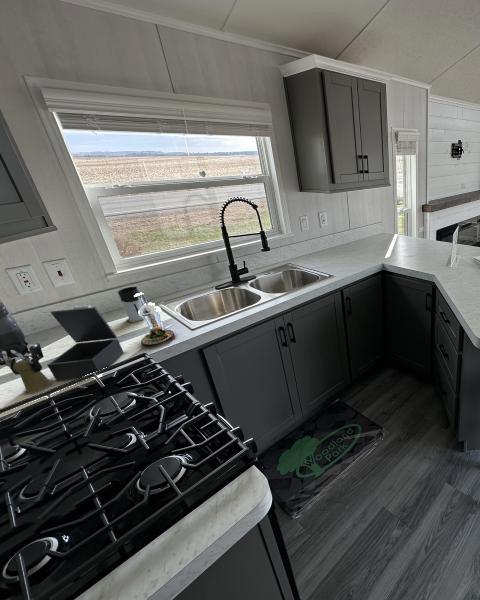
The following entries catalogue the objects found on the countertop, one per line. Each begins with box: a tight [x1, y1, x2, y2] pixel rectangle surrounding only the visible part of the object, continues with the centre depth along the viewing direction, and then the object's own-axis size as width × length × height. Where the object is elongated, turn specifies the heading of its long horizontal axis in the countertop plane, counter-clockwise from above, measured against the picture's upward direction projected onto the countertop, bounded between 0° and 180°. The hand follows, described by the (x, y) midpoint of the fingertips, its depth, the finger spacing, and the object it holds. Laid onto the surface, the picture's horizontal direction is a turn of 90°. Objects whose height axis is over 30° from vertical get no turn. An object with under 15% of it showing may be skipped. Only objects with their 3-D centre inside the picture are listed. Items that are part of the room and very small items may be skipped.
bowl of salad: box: [140, 325, 176, 346], centre depth 140 cm, size 12×12×8 cm
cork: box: [13, 358, 51, 393], centre depth 114 cm, size 6×6×11 cm
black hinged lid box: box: [46, 338, 125, 381], centre depth 125 cm, size 15×15×7 cm
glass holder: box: [117, 286, 148, 323], centre depth 158 cm, size 9×14×15 cm, turn 72°
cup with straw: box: [133, 292, 165, 331], centre depth 145 cm, size 8×9×20 cm
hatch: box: [50, 304, 118, 344], centre depth 127 cm, size 15×15×5 cm
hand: (29, 371), depth 113 cm, fingers closed on cork, 5 cm apart
